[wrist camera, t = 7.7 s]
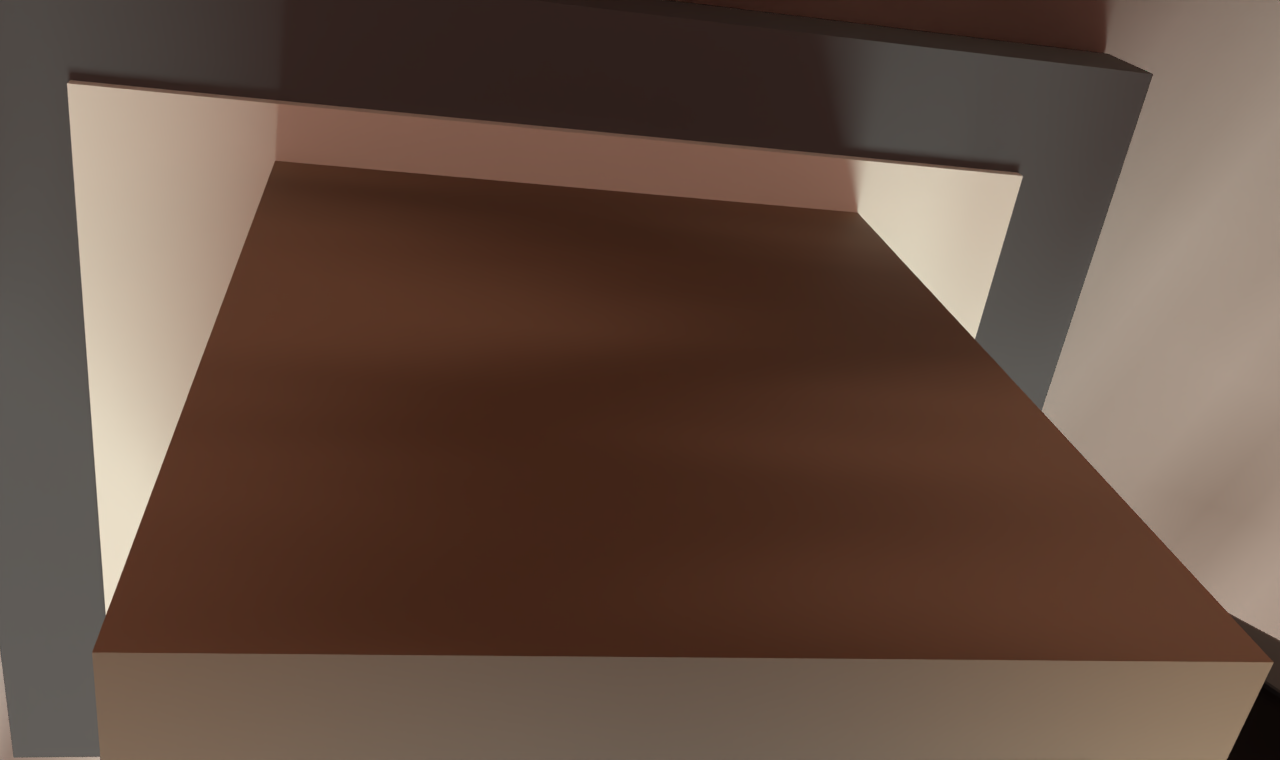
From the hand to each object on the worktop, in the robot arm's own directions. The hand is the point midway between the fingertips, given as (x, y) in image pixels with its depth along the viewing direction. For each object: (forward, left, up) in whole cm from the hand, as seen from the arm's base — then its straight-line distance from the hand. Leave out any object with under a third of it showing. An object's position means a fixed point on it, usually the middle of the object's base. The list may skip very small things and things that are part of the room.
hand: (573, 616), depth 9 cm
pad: (0, 0, -4) cm, 4 cm away
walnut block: (0, 0, -3) cm, 3 cm away
